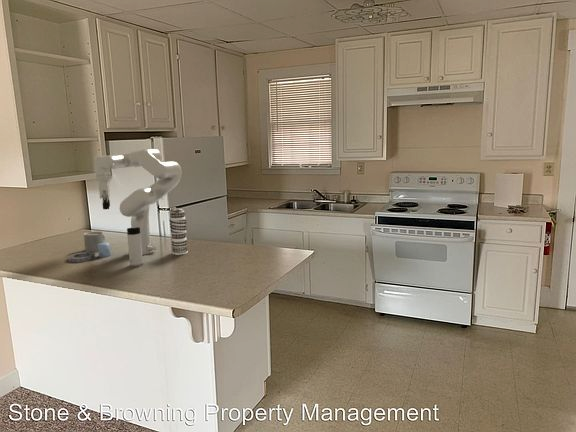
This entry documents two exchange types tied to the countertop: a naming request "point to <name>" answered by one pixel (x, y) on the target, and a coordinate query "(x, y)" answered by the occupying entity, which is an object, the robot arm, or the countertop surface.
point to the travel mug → (135, 247)
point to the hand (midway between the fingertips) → (106, 207)
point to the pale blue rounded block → (104, 249)
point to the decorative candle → (178, 231)
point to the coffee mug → (93, 240)
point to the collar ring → (81, 257)
